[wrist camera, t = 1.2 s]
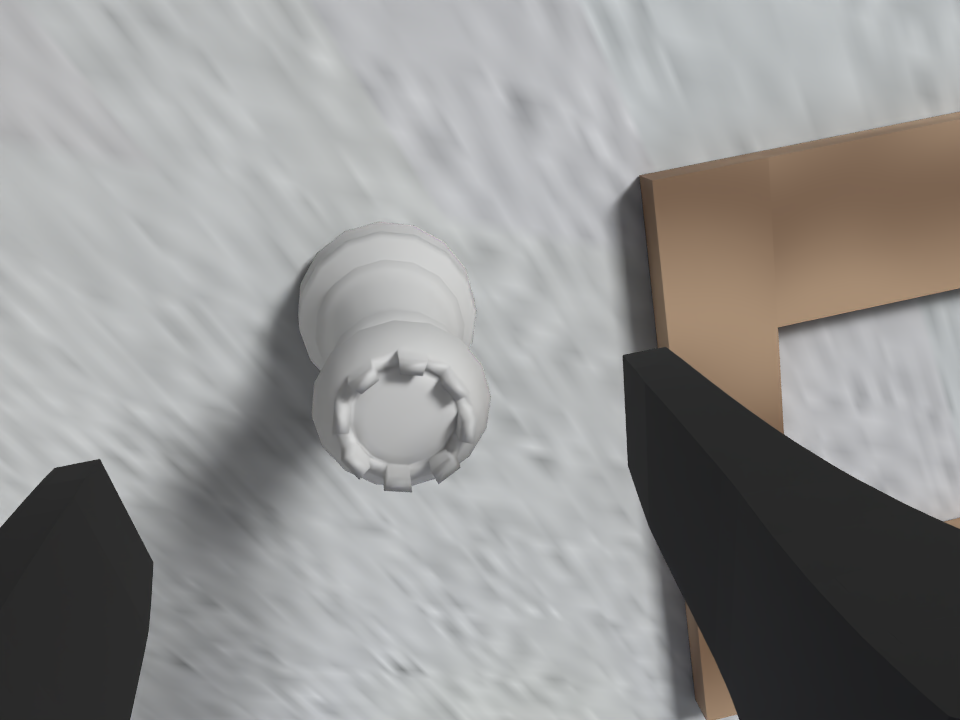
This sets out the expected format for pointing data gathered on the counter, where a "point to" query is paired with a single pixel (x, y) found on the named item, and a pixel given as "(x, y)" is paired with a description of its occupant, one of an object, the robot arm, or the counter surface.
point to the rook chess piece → (393, 355)
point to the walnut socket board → (794, 262)
